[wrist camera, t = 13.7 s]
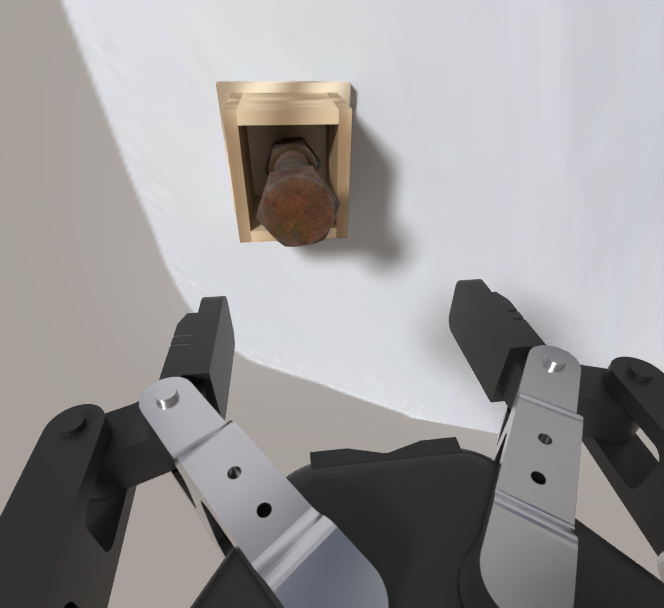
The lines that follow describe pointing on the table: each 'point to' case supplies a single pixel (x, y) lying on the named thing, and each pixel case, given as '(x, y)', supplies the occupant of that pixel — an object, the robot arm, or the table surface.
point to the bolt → (296, 195)
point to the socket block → (275, 124)
